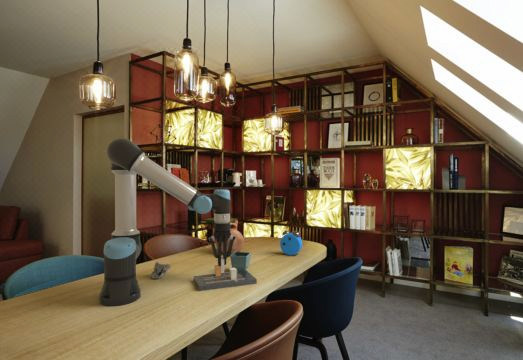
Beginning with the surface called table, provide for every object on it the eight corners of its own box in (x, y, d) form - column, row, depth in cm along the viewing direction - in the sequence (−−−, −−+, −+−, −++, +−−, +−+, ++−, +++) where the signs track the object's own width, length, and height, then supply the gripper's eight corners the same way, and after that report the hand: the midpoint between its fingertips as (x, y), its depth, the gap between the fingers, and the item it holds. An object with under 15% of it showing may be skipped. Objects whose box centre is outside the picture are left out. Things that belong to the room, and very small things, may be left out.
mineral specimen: (154, 286, 157) (171, 282, 154) (144, 278, 152) (161, 274, 149) (159, 268, 164) (175, 264, 161) (149, 260, 159) (166, 256, 156)
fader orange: (215, 276, 148) (215, 267, 148) (214, 274, 151) (214, 265, 151) (221, 276, 149) (221, 266, 149) (219, 274, 152) (219, 264, 152)
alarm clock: (302, 254, 200) (302, 230, 200) (299, 256, 194) (299, 232, 194) (283, 252, 205) (283, 229, 205) (279, 254, 200) (279, 230, 200)
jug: (229, 248, 219) (228, 218, 219) (249, 251, 208) (249, 220, 208) (209, 253, 204) (209, 222, 204) (231, 257, 193) (231, 224, 193)
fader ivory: (231, 279, 144) (231, 270, 144) (229, 277, 147) (229, 268, 147) (236, 279, 145) (236, 269, 145) (234, 277, 148) (234, 267, 148)
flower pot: (246, 274, 160) (246, 256, 160) (229, 273, 162) (229, 255, 161) (251, 269, 168) (250, 252, 168) (234, 268, 170) (234, 251, 170)
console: (199, 290, 136) (199, 284, 136) (193, 280, 150) (193, 274, 150) (256, 283, 146) (256, 277, 146) (246, 274, 160) (246, 269, 160)
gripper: (210, 224, 145) (210, 275, 145) (237, 222, 150) (237, 272, 150) (206, 221, 152) (206, 271, 152) (233, 220, 157) (233, 268, 157)
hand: (222, 272), depth 151 cm, fingers closed
